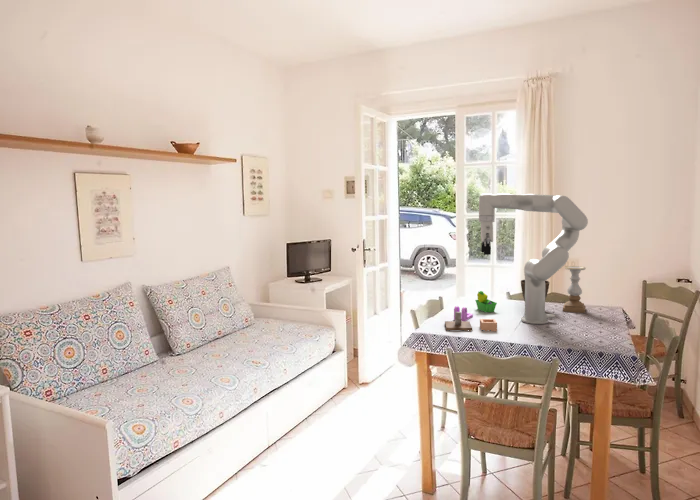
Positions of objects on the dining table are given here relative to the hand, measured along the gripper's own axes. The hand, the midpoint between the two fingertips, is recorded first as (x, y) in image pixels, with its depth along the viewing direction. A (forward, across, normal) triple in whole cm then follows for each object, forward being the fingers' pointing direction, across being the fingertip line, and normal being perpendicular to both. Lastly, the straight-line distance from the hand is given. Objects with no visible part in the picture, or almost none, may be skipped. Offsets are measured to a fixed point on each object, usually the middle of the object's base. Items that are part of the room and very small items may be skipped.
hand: (485, 253), depth 244 cm
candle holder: (+35, +28, -51) cm, 68 cm away
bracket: (+36, +7, +9) cm, 37 cm away
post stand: (+35, -12, +14) cm, 40 cm away
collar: (+35, -14, 0) cm, 38 cm away
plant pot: (+35, +27, -30) cm, 54 cm away
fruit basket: (+35, +25, -3) cm, 43 cm away
